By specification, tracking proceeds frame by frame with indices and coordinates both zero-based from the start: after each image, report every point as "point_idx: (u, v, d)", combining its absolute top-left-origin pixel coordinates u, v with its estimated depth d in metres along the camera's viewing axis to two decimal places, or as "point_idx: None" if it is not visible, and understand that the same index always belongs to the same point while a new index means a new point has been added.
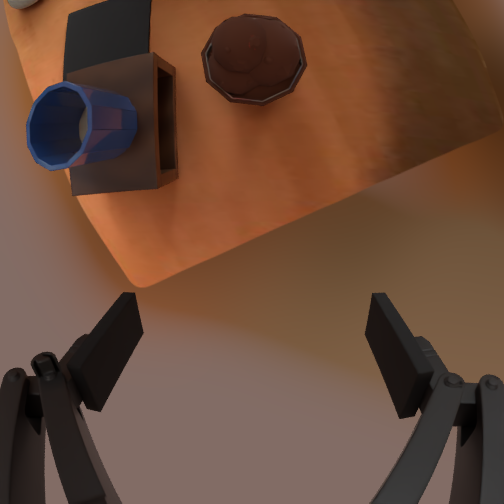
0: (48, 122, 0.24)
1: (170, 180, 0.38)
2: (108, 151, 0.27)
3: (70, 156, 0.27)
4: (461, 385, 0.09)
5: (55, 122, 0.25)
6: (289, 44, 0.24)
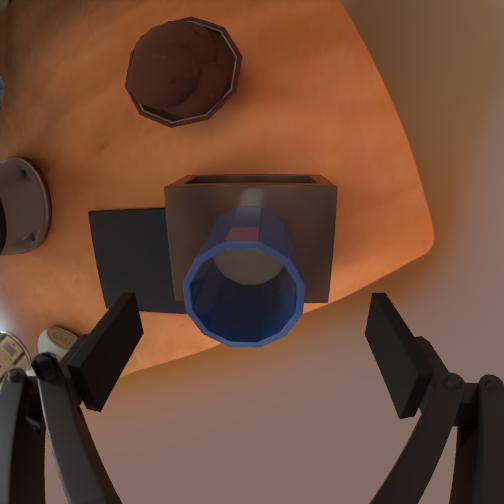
0: (234, 318, 0.25)
1: (324, 179, 0.32)
2: (286, 236, 0.24)
3: (284, 291, 0.25)
4: (461, 385, 0.09)
5: (235, 309, 0.26)
6: (165, 25, 0.19)
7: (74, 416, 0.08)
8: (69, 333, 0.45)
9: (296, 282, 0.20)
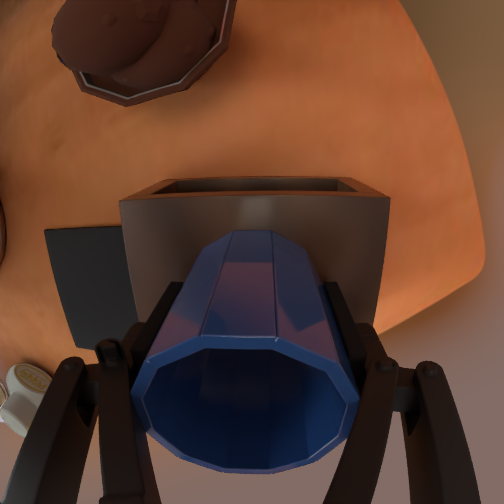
0: (229, 417, 0.14)
1: (361, 184, 0.21)
2: (319, 290, 0.14)
3: (310, 374, 0.15)
4: (395, 366, 0.10)
5: (232, 400, 0.15)
6: None
7: (130, 406, 0.09)
8: (39, 371, 0.34)
9: (346, 398, 0.09)
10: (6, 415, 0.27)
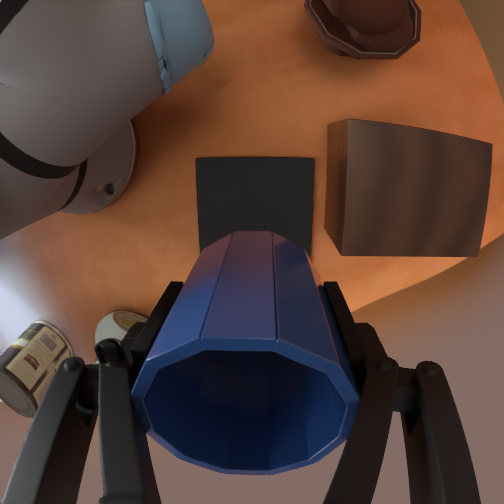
0: (229, 418, 0.14)
1: None
2: (319, 291, 0.14)
3: (310, 375, 0.15)
4: (395, 366, 0.10)
5: (232, 401, 0.15)
6: None
7: (130, 406, 0.09)
8: (141, 317, 0.40)
9: (346, 400, 0.09)
10: None
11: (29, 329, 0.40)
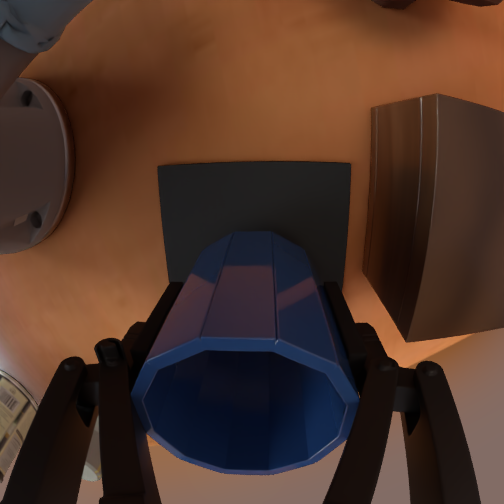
0: (229, 419, 0.14)
1: None
2: (319, 291, 0.14)
3: (310, 375, 0.15)
4: (395, 366, 0.10)
5: (232, 401, 0.15)
6: None
7: (130, 406, 0.09)
8: None
9: (346, 400, 0.09)
10: None
11: None
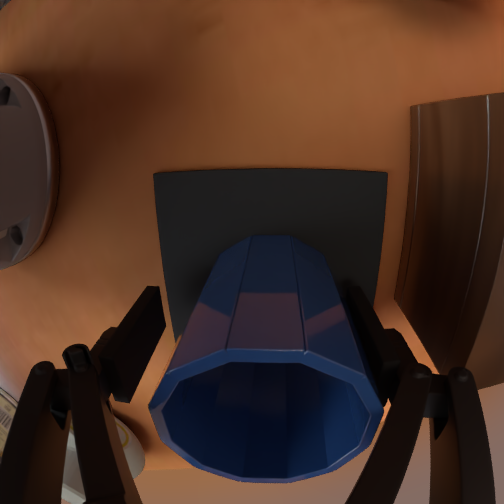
0: (246, 426, 0.13)
1: None
2: (340, 298, 0.13)
3: (329, 382, 0.14)
4: (428, 374, 0.10)
5: (249, 407, 0.15)
6: None
7: (102, 410, 0.09)
8: None
9: (370, 410, 0.09)
10: None
11: None
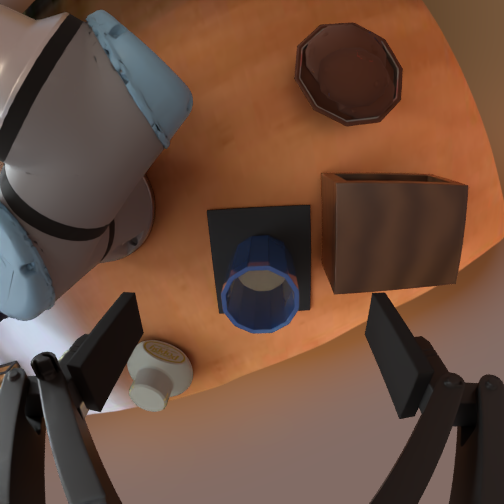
0: (254, 314, 0.36)
1: (445, 178, 0.33)
2: (287, 258, 0.36)
3: (287, 294, 0.37)
4: (461, 385, 0.09)
5: (254, 309, 0.37)
6: (351, 28, 0.20)
7: (74, 416, 0.08)
8: (168, 345, 0.46)
9: (293, 289, 0.31)
10: (141, 390, 0.38)
11: None
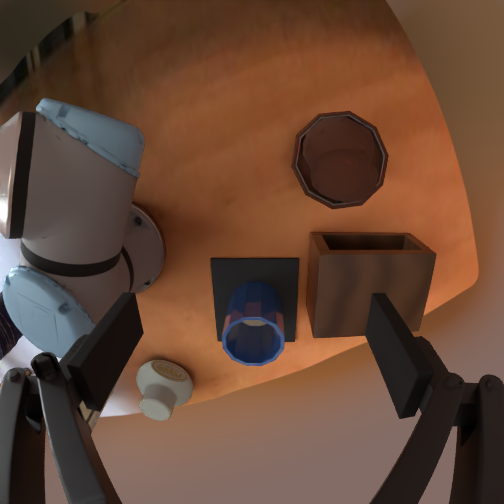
0: (247, 349, 0.43)
1: (419, 241, 0.40)
2: (276, 305, 0.43)
3: (275, 333, 0.44)
4: (461, 385, 0.09)
5: (248, 343, 0.44)
6: (345, 127, 0.28)
7: (74, 416, 0.08)
8: (172, 364, 0.53)
9: (280, 335, 0.39)
10: (150, 403, 0.45)
11: None
